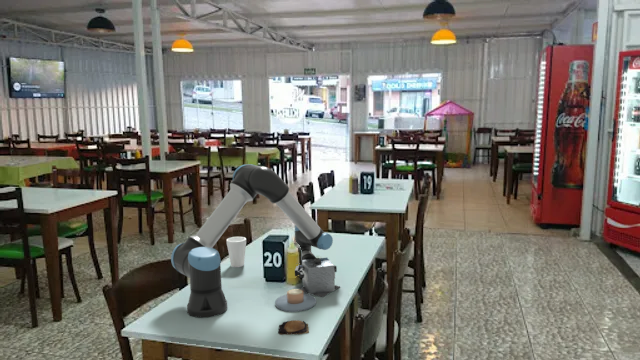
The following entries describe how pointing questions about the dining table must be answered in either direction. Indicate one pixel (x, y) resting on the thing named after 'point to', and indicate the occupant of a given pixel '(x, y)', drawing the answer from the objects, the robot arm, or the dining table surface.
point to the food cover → (319, 275)
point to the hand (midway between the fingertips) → (320, 277)
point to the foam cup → (236, 250)
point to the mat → (319, 293)
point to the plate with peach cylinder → (295, 301)
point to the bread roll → (293, 327)
